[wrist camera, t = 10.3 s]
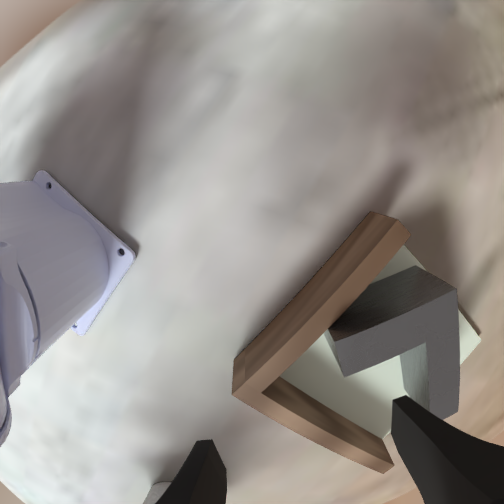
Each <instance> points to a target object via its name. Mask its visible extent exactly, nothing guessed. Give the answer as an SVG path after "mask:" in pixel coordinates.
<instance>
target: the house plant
mask: <svg viewBox="0 0 504 504" xmlns="http://www.w3.org/2000/svg"><path fill="white" fill-rule="evenodd" d="M171 483H172V482H160V483H156V484H154V485H153V486H152V487H151V489H150V491H149V493H148V495H147V497H146V499H145V501H144V503H143V504H155V503H156V502H157V501H158V499H159V498H160V497H161V496H162V495H163V493H164V492H165V491H166V489H167V488H168V487H169V485H170V484H171Z"/></svg>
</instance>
